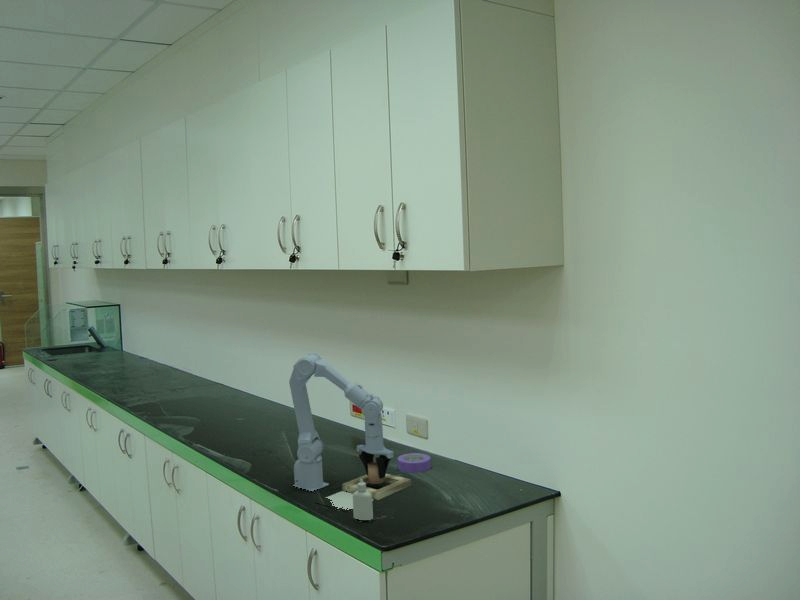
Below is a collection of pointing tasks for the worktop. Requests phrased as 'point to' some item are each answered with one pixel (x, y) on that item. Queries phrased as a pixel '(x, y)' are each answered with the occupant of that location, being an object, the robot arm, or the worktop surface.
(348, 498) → the mat
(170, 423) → the worktop surface
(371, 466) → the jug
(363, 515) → the eye dropper bottle
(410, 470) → the masking tape
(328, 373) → the robot arm
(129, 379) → the worktop surface
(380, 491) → the holder
